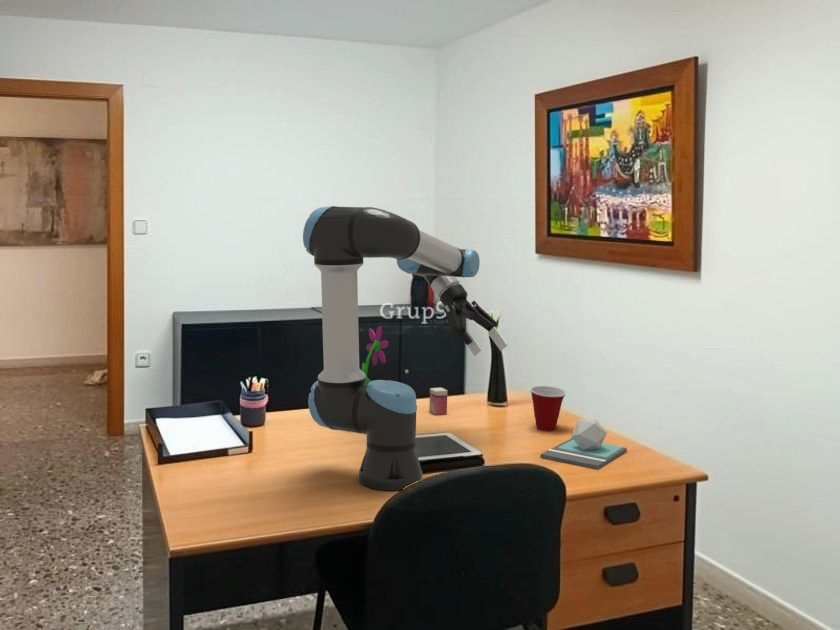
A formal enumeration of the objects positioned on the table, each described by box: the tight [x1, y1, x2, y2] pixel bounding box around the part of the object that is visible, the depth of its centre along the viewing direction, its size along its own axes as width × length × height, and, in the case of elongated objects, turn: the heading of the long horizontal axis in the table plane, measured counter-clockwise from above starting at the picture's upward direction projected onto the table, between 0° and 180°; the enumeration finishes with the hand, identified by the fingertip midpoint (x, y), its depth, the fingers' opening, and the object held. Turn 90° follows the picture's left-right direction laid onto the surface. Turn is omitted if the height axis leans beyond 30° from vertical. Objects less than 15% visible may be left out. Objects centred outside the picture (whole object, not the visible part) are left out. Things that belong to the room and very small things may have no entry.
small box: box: [428, 387, 448, 416], centre depth 259 cm, size 5×4×8 cm
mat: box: [539, 437, 628, 470], centre depth 217 cm, size 20×16×1 cm
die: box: [571, 418, 608, 450], centre depth 219 cm, size 8×9×10 cm
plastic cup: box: [529, 385, 567, 432], centre depth 242 cm, size 11×11×12 cm
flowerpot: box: [361, 325, 390, 385], centre depth 242 cm, size 14×14×30 cm
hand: (491, 350), depth 223 cm, fingers open, 13 cm apart
